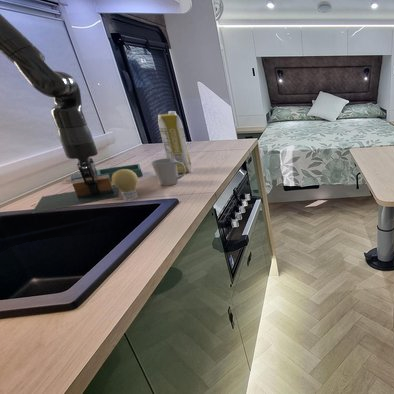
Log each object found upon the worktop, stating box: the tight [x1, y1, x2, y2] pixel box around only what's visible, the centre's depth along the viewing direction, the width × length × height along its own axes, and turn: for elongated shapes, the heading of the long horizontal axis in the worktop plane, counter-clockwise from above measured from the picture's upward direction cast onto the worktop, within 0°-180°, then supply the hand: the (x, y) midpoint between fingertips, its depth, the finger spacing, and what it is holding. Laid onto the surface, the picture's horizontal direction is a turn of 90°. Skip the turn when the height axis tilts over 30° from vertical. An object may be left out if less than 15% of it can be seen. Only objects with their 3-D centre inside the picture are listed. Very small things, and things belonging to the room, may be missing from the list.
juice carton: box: [157, 110, 192, 175], centre depth 116 cm, size 9×8×24 cm
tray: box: [97, 163, 143, 182], centre depth 112 cm, size 13×9×4 cm
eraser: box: [71, 175, 113, 199], centre depth 95 cm, size 9×5×5 cm, turn 128°
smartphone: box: [70, 166, 115, 183], centre depth 115 cm, size 8×2×15 cm
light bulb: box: [111, 169, 139, 201], centre depth 90 cm, size 6×6×10 cm
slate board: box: [31, 184, 120, 214], centre depth 93 cm, size 20×16×1 cm
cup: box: [151, 157, 187, 187], centre depth 105 cm, size 8×10×8 cm
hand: (96, 192), depth 96 cm, fingers closed on eraser, 5 cm apart
